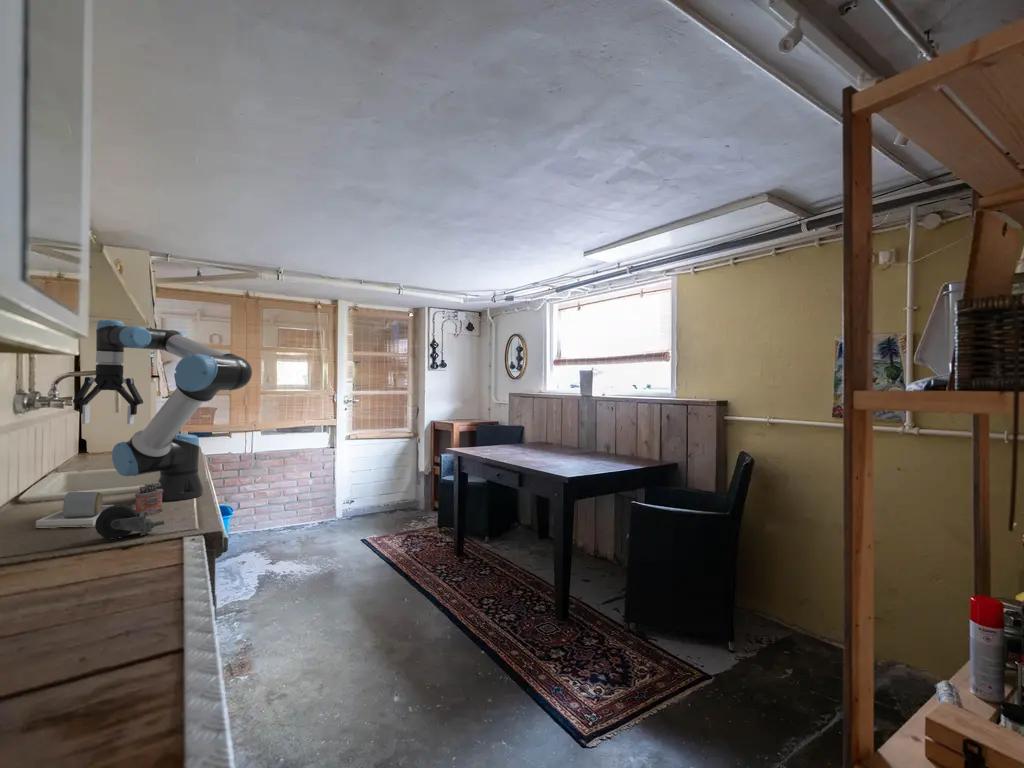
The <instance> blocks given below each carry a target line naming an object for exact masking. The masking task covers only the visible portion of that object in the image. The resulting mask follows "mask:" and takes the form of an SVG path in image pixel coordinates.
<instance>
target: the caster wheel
mask: <svg viewBox="0 0 1024 768" xmlns="http://www.w3.org/2000/svg"><path fill="white" fill-rule="evenodd" d="M112 505H113V506H110V507H108V508H106V509H105V510H103V511H102V512H101V513H100V515H99V516H98V518H97V519H96V524H95V526H94V528H95V530H96V532H97V534H99V535H100V537H102V538H105V539H108V538H119V537H122V538H124V536H125V537H127V536H128V535H129V534H131V533H133V532H139V533H140V536H141V535H145V536H146V533H151V532H152V531H153V529H154V528H155V527H158V526H162V525H165V520H160V521H159V520H158V521H152V519H151V518H146V516H145V512H140V513H137V512H136V509H135V508H133V507H132V506H130V505H126V504H112ZM119 539H120V538H119Z"/></svg>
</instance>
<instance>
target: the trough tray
mask: <svg viewBox="0 0 1024 768" xmlns="http://www.w3.org/2000/svg"><path fill="white" fill-rule="evenodd" d="M113 505H114V504H102V507H101V511H100V513H101V512H102V511H103V510H105V509H106V508H108V507H110V506H113ZM100 513H99V514H97V515H94V516H84V517H72V518H64V516H63V509H62V510H59V511H57V512H53V513H52V514H49V515H48V516H44V517H43V518H40V519H37V520H36V521H35V528H36V527H58V526H59V527H61V526H94V525H95V524H96V519H97V518H98V516H99V515H100ZM94 527H95V526H94Z"/></svg>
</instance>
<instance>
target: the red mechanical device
mask: <svg viewBox="0 0 1024 768" xmlns="http://www.w3.org/2000/svg"><path fill="white" fill-rule="evenodd" d="M159 486H160V482H158V481H156V482H153V483H145V484H144V485H141V486H139V491H140V492H137V493H134V496H135V497H134V498H135V511H136V512H137V513H140V512H145V516H148V517H150V516H149V515H152V516H154V515H153V514H155V515H158V514H157V513H159V514H161V513H160V512H162V513H163V500H162V492H163V489H156V487H159Z"/></svg>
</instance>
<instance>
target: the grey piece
mask: <svg viewBox="0 0 1024 768" xmlns="http://www.w3.org/2000/svg"><path fill="white" fill-rule="evenodd" d="M62 504H63V505H62V506H63V507H62V510H63V516H64V518H72V517H84V516H94V515H97V514H99V513H100V511H101V507H102V505H103V493H101V492H96V491H68V492H67V493H66V494H65V496H64V500H63V503H62Z"/></svg>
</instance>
